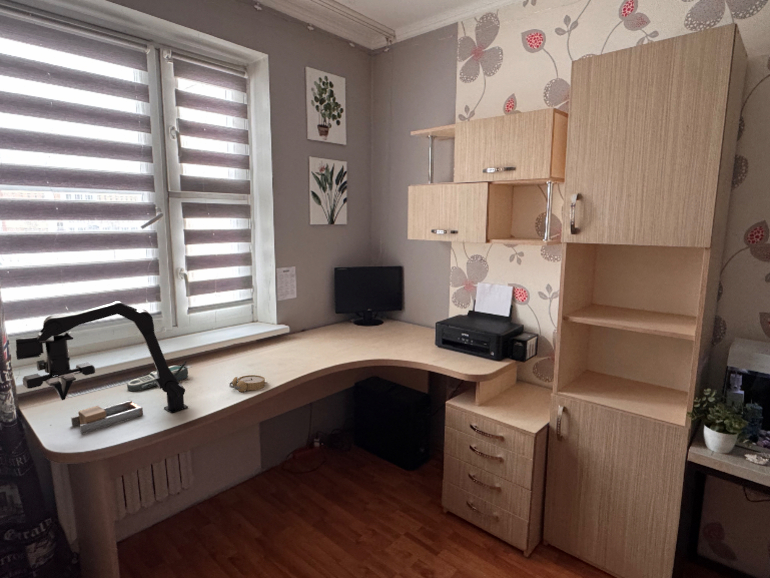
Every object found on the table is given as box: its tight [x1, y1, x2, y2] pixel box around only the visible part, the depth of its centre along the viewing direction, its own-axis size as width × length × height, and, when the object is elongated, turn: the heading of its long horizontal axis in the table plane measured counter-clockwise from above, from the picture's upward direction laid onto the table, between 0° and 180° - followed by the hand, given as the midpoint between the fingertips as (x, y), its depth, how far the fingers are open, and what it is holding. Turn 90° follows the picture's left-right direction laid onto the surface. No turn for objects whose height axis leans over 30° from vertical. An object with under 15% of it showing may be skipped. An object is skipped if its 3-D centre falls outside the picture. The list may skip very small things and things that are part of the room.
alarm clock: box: [228, 374, 268, 393], centre depth 193 cm, size 11×5×15 cm
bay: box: [70, 399, 144, 435], centre depth 162 cm, size 10×20×3 cm, turn 140°
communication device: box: [126, 360, 189, 392], centre depth 198 cm, size 12×24×9 cm, turn 136°
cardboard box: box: [77, 405, 107, 426], centre depth 158 cm, size 7×6×5 cm
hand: (63, 399), depth 150 cm, fingers closed
